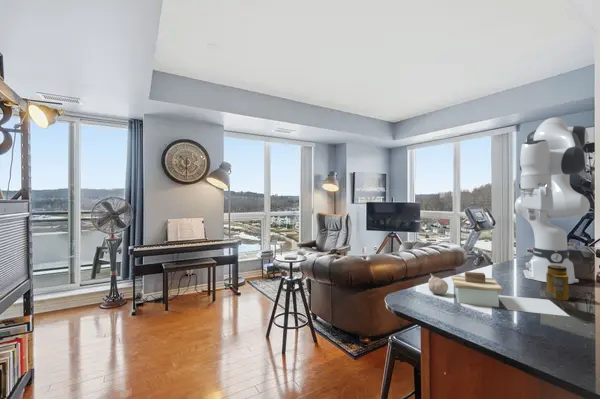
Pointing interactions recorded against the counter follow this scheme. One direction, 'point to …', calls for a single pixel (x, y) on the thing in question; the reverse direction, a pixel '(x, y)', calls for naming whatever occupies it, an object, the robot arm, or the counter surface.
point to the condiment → (557, 282)
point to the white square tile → (531, 305)
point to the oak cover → (476, 282)
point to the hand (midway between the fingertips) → (536, 221)
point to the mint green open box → (477, 297)
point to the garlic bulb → (437, 285)
